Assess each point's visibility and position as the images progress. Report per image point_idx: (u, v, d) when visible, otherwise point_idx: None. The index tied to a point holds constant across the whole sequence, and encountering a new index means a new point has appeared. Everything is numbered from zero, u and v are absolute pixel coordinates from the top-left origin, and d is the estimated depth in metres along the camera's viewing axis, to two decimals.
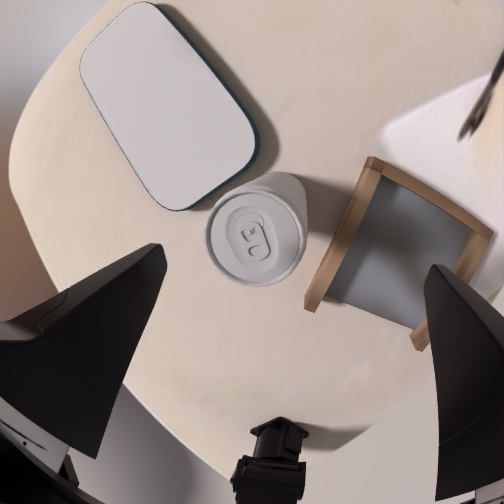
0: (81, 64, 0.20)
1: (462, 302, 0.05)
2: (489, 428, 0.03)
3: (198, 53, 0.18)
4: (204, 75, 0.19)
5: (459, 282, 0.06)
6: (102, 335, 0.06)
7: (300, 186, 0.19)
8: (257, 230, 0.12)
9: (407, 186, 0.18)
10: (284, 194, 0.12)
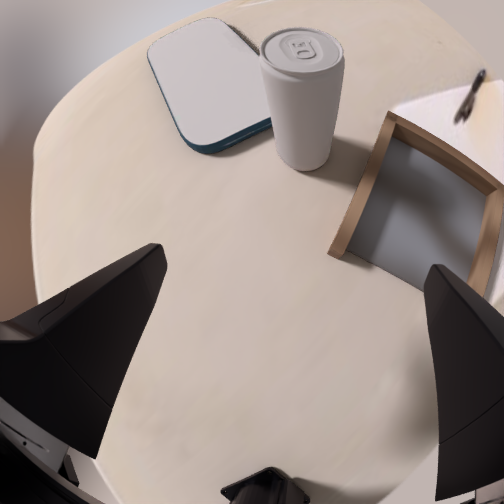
0: (150, 48, 0.28)
1: (462, 302, 0.05)
2: (489, 428, 0.03)
3: (250, 47, 0.25)
4: (253, 58, 0.24)
5: (459, 282, 0.06)
6: (102, 335, 0.06)
7: None
8: (305, 44, 0.11)
9: (419, 134, 0.19)
10: None
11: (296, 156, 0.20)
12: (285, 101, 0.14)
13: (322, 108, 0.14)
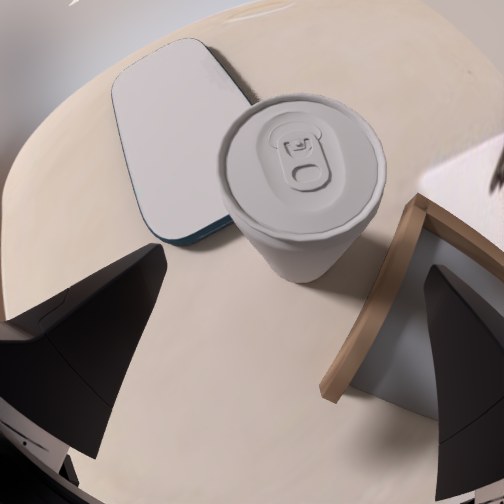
0: (116, 81, 0.23)
1: (462, 302, 0.05)
2: (489, 428, 0.03)
3: (234, 82, 0.20)
4: (237, 100, 0.20)
5: (459, 282, 0.06)
6: (102, 335, 0.06)
7: None
8: (311, 143, 0.07)
9: (454, 228, 0.14)
10: None
11: (288, 278, 0.15)
12: (267, 253, 0.09)
13: (330, 259, 0.09)
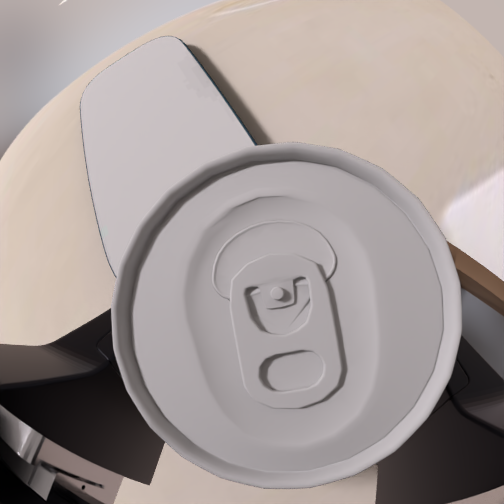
0: (86, 90, 0.19)
1: None
2: (419, 445, 0.03)
3: (216, 87, 0.16)
4: (219, 110, 0.16)
5: None
6: None
7: None
8: (309, 293, 0.03)
9: (483, 283, 0.10)
10: None
11: None
12: None
13: None
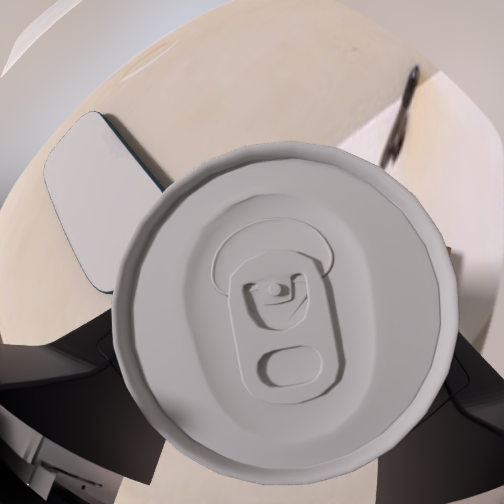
0: (45, 167, 0.27)
1: None
2: (419, 445, 0.03)
3: (127, 148, 0.25)
4: (130, 165, 0.24)
5: None
6: None
7: None
8: (306, 289, 0.03)
9: None
10: None
11: None
12: None
13: None
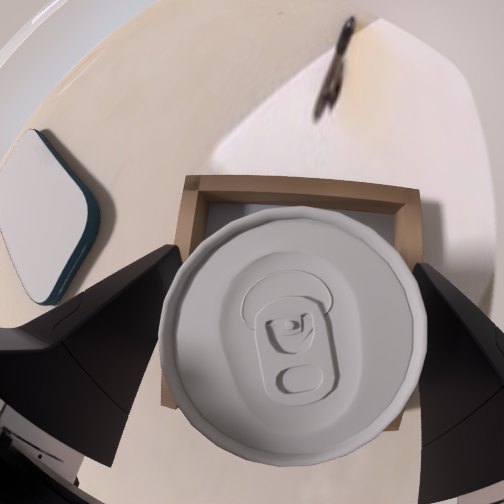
0: None
1: (444, 302, 0.05)
2: (470, 434, 0.03)
3: (54, 154, 0.21)
4: (55, 169, 0.20)
5: (442, 281, 0.06)
6: (120, 341, 0.06)
7: None
8: (312, 324, 0.04)
9: (238, 189, 0.15)
10: None
11: None
12: None
13: None
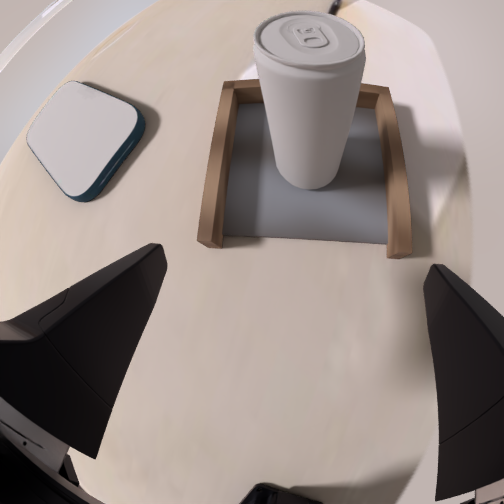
0: (28, 134, 0.27)
1: (462, 302, 0.05)
2: (489, 428, 0.03)
3: (99, 90, 0.25)
4: (102, 98, 0.24)
5: (459, 282, 0.06)
6: (102, 335, 0.06)
7: None
8: (314, 30, 0.08)
9: None
10: None
11: (300, 173, 0.17)
12: (288, 105, 0.10)
13: (336, 114, 0.11)
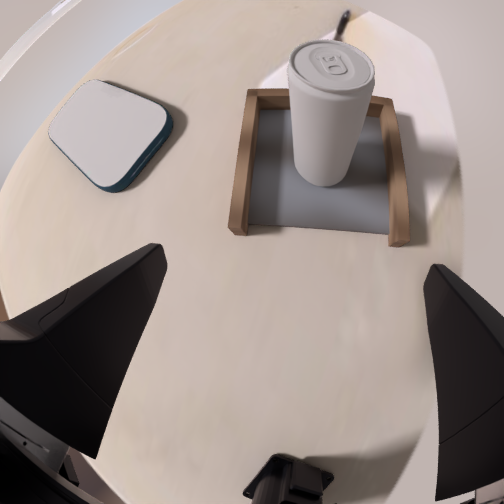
0: (49, 129, 0.30)
1: (462, 302, 0.05)
2: (489, 428, 0.03)
3: None
4: (129, 97, 0.27)
5: (459, 282, 0.06)
6: (102, 335, 0.06)
7: None
8: (336, 58, 0.11)
9: (282, 94, 0.22)
10: None
11: (317, 172, 0.19)
12: (313, 117, 0.13)
13: (350, 126, 0.14)
